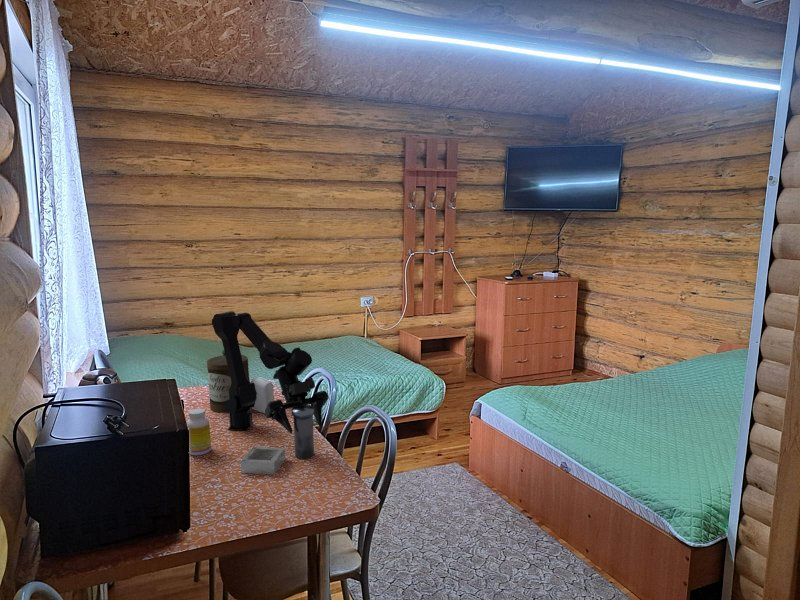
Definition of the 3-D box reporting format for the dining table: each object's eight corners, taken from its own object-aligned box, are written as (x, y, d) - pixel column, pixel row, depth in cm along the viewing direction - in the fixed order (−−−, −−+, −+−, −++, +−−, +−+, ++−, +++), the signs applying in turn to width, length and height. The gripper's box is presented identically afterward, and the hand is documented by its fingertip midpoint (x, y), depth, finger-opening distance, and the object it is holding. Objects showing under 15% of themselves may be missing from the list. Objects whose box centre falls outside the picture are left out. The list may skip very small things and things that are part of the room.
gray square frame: (241, 473, 157) (240, 461, 157) (253, 458, 167) (253, 446, 166) (274, 474, 156) (274, 462, 156) (285, 459, 166) (284, 448, 165)
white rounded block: (250, 409, 208) (248, 376, 206) (259, 406, 211) (258, 374, 209) (266, 415, 201) (264, 382, 199) (276, 412, 204) (274, 379, 203)
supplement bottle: (215, 451, 172) (212, 410, 170) (194, 458, 167) (191, 416, 165) (204, 445, 176) (201, 405, 174) (184, 451, 172) (181, 411, 170)
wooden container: (201, 410, 208) (197, 352, 204) (228, 397, 221) (224, 343, 218) (233, 415, 202) (230, 355, 199) (259, 402, 216) (256, 346, 212)
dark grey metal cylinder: (290, 459, 165) (288, 412, 163) (297, 449, 172) (295, 404, 169) (312, 460, 165) (310, 413, 162) (318, 450, 171) (316, 405, 169)
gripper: (266, 375, 162) (282, 423, 155) (325, 365, 172) (343, 409, 165) (258, 394, 170) (273, 441, 163) (315, 383, 180) (331, 427, 173)
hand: (306, 429), depth 166 cm, fingers open, 9 cm apart
